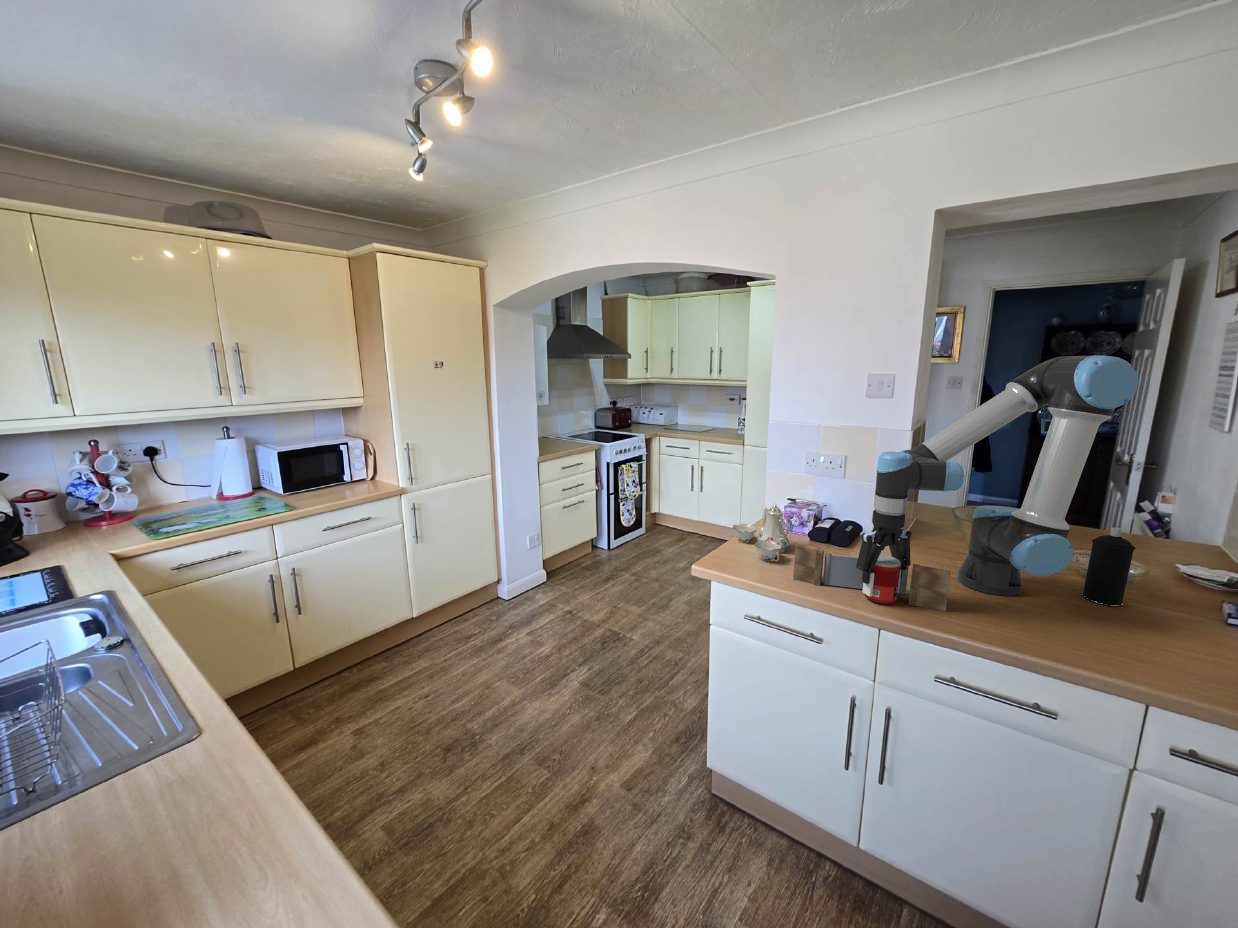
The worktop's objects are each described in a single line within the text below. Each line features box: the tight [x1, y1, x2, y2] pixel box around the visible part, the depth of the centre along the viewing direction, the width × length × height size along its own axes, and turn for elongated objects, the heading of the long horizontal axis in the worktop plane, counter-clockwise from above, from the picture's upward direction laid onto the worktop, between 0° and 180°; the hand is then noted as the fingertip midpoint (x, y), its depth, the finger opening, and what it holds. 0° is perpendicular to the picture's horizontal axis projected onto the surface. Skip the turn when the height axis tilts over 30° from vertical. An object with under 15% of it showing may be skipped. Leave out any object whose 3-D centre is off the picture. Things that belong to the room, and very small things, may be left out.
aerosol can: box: [1081, 527, 1136, 605], centre depth 131 cm, size 8×8×20 cm
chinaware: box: [732, 503, 790, 563], centre depth 170 cm, size 28×17×17 cm, turn 16°
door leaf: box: [822, 552, 910, 595], centre depth 140 cm, size 21×2×9 cm, turn 72°
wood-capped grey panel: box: [792, 543, 952, 613], centre depth 137 cm, size 38×3×10 cm, turn 58°
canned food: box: [863, 553, 901, 605], centre depth 133 cm, size 8×8×11 cm
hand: (880, 592), depth 134 cm, fingers closed on canned food, 8 cm apart
